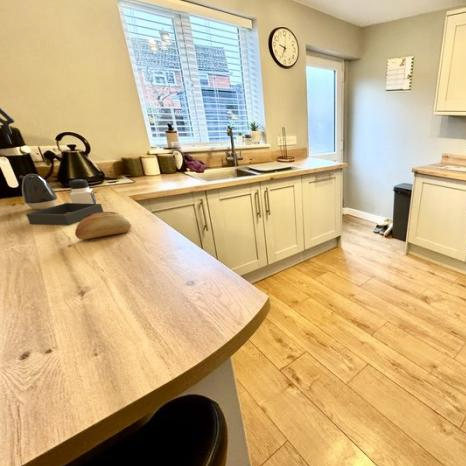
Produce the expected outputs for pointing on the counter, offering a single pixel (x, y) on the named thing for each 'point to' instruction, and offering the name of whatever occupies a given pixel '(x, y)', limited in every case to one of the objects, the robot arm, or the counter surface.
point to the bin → (55, 213)
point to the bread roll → (101, 225)
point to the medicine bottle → (81, 192)
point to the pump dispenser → (37, 192)
